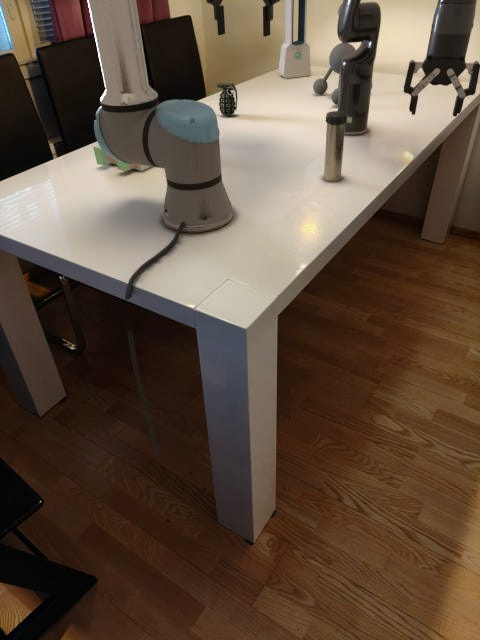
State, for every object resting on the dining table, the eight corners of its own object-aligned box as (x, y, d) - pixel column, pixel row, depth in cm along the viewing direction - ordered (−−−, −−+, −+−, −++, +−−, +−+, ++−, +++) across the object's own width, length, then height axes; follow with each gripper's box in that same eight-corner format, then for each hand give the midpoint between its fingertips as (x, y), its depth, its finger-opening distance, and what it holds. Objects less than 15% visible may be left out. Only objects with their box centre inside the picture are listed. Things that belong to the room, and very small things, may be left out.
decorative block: (148, 117, 149) (198, 126, 139) (151, 138, 153) (200, 148, 143) (82, 141, 133) (133, 153, 123) (87, 165, 137) (138, 178, 127)
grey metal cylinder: (328, 173, 124) (332, 112, 115) (343, 176, 122) (349, 114, 112) (320, 179, 121) (324, 117, 112) (335, 182, 119) (340, 119, 110)
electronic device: (283, 78, 209) (284, -5, 191) (278, 75, 215) (278, -6, 197) (310, 75, 212) (314, -8, 193) (304, 72, 217) (307, -9, 199)
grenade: (217, 117, 168) (214, 86, 162) (221, 112, 172) (219, 82, 166) (235, 117, 166) (233, 86, 160) (239, 113, 171) (238, 82, 165)
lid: (332, 117, 116) (332, 109, 115) (350, 120, 113) (351, 112, 112) (322, 122, 113) (322, 115, 112) (340, 125, 110) (341, 117, 109)
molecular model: (389, 100, 175) (402, 0, 156) (335, 109, 169) (342, 6, 150) (354, 87, 192) (362, -4, 174) (304, 94, 186) (307, 1, 168)
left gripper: (294, -71, 114) (292, 33, 127) (203, -65, 124) (210, 31, 137) (281, -70, 109) (280, 38, 122) (187, -64, 119) (196, 36, 132)
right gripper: (488, 26, 97) (466, 111, 107) (413, 25, 100) (399, 108, 110) (492, 32, 92) (470, 121, 102) (413, 31, 95) (399, 118, 105)
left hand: (243, 35), depth 129 cm, fingers open, 13 cm apart
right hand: (433, 114), depth 106 cm, fingers open, 8 cm apart
